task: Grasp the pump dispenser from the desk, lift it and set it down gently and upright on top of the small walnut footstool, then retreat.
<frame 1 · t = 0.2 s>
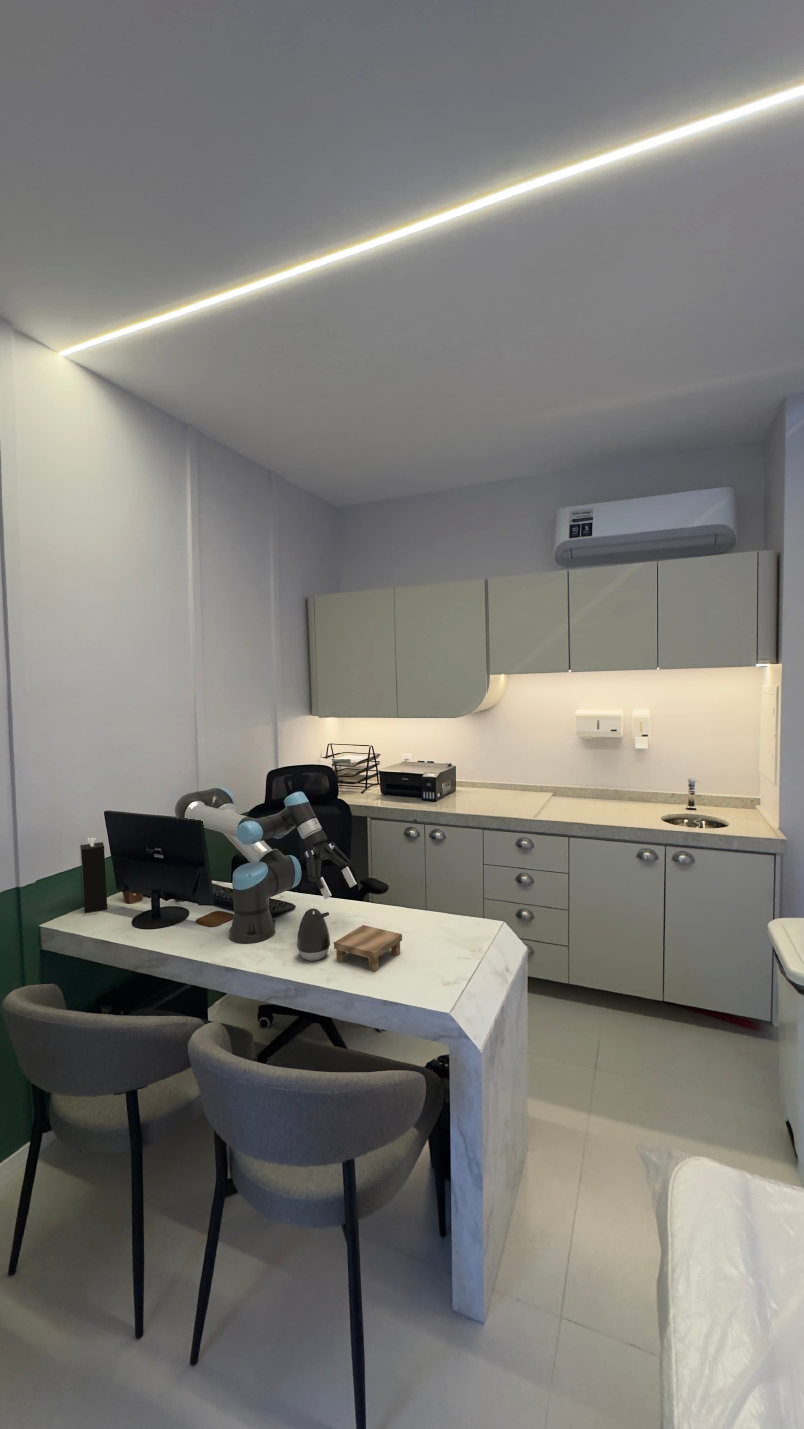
hand: (341, 891, 201), 16 cm above the table, tool tilted 35°, fingers open, 13 cm apart
tissue box: (95, 909, 235), on the table
pump dispenser: (314, 957, 188), on the table
walnut footstool: (368, 957, 187), on the table
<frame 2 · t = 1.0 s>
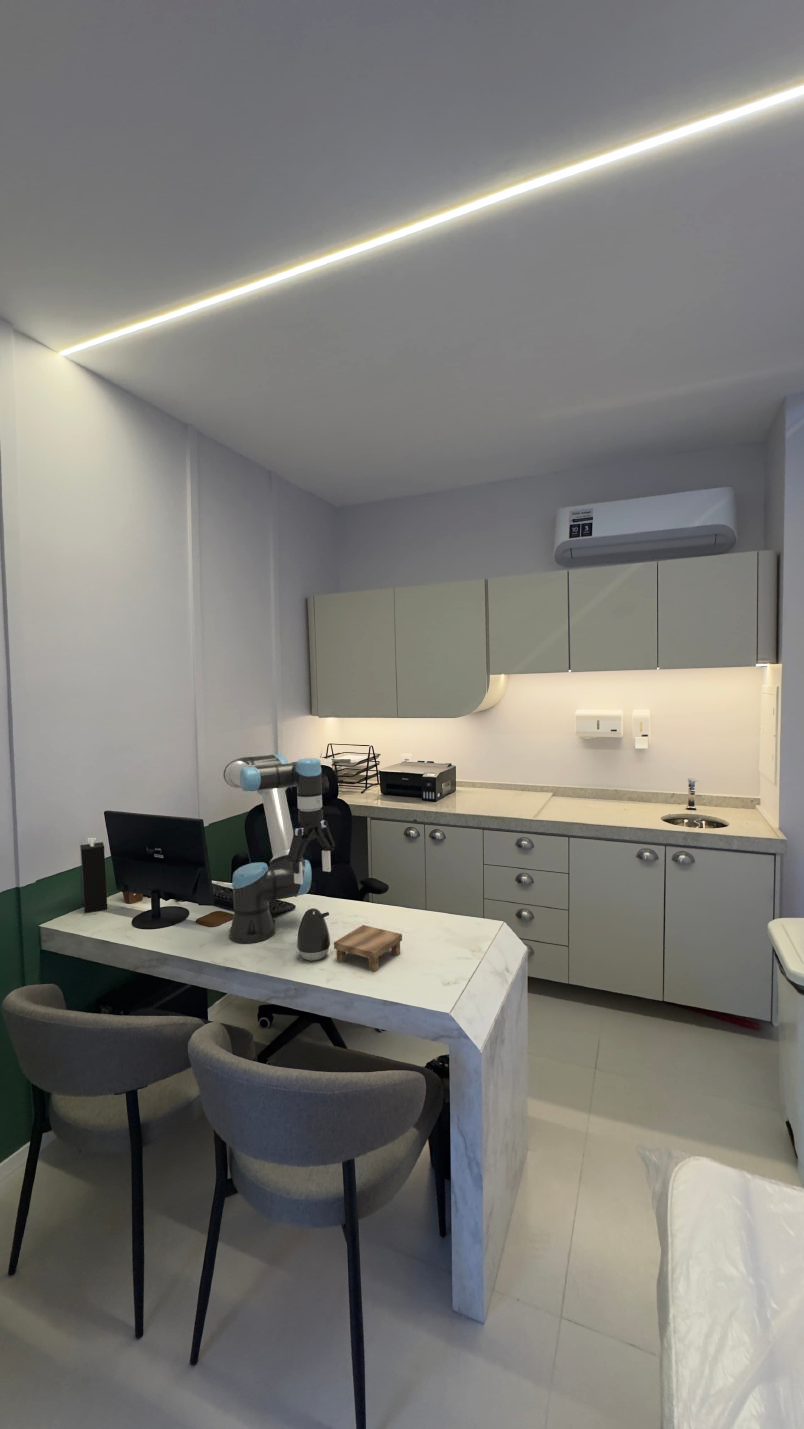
hand: (313, 877, 187), 25 cm above the table, tool pointing down, fingers open, 13 cm apart
nothing on the table moved.
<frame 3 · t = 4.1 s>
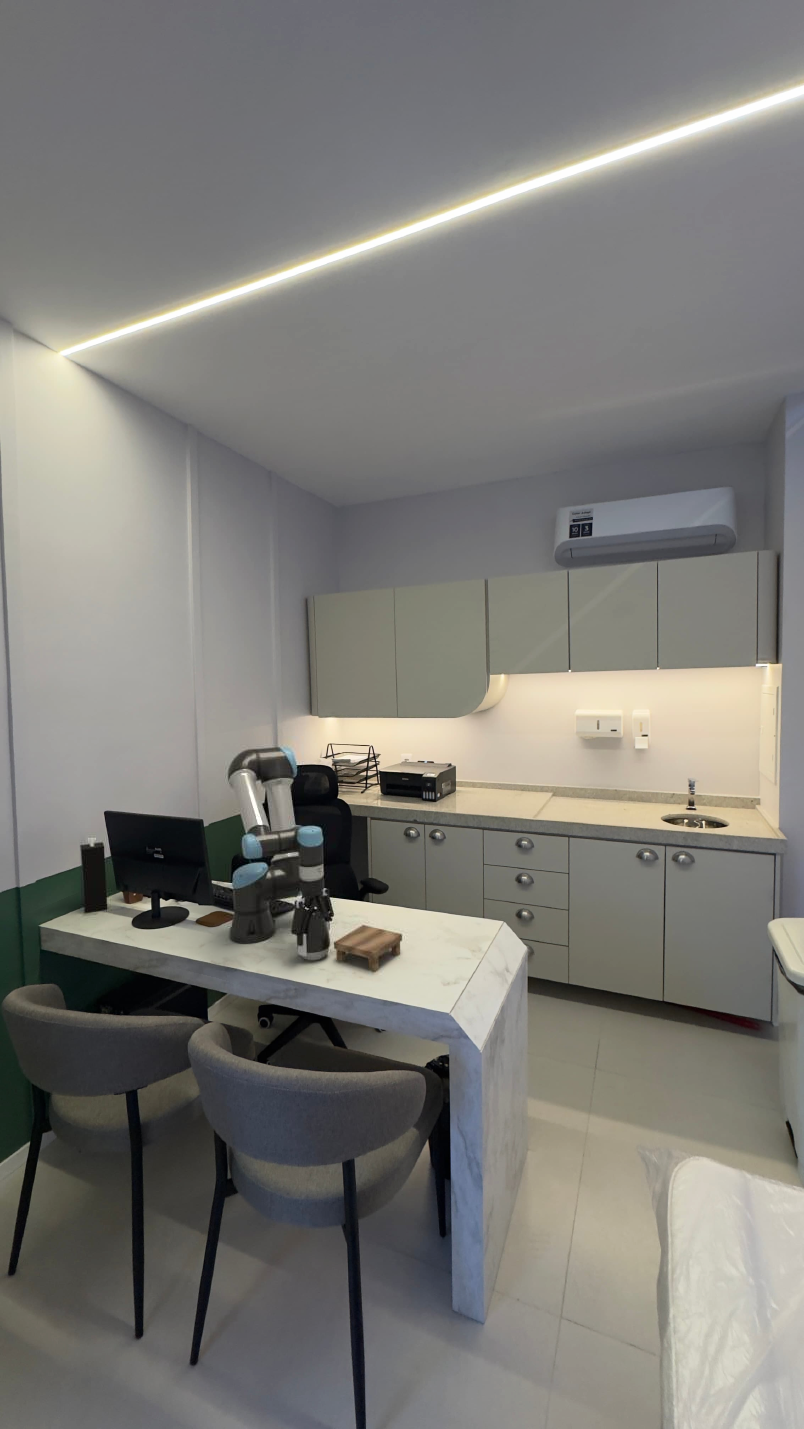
hand: (314, 948, 188), 3 cm above the table, tool pointing down, fingers closed on pump dispenser, 10 cm apart
pump dispenser: (314, 957, 188), on the table, touching gripper
everything else where it was.
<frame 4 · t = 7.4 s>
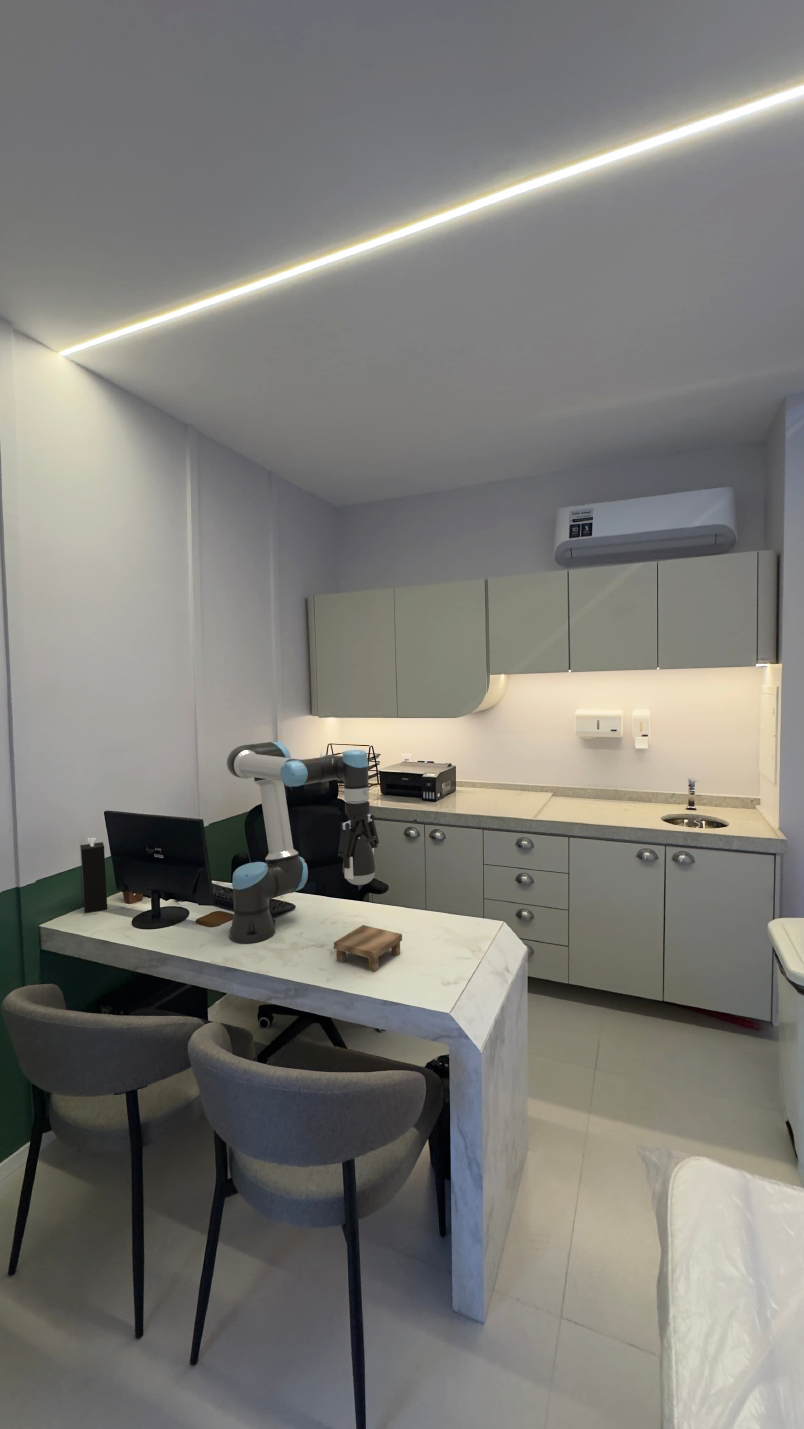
hand: (360, 873, 185), 26 cm above the table, tool pointing down, fingers closed on pump dispenser, 10 cm apart
pump dispenser: (360, 882, 185), point 23 cm above the table, touching gripper
everything else where it was.
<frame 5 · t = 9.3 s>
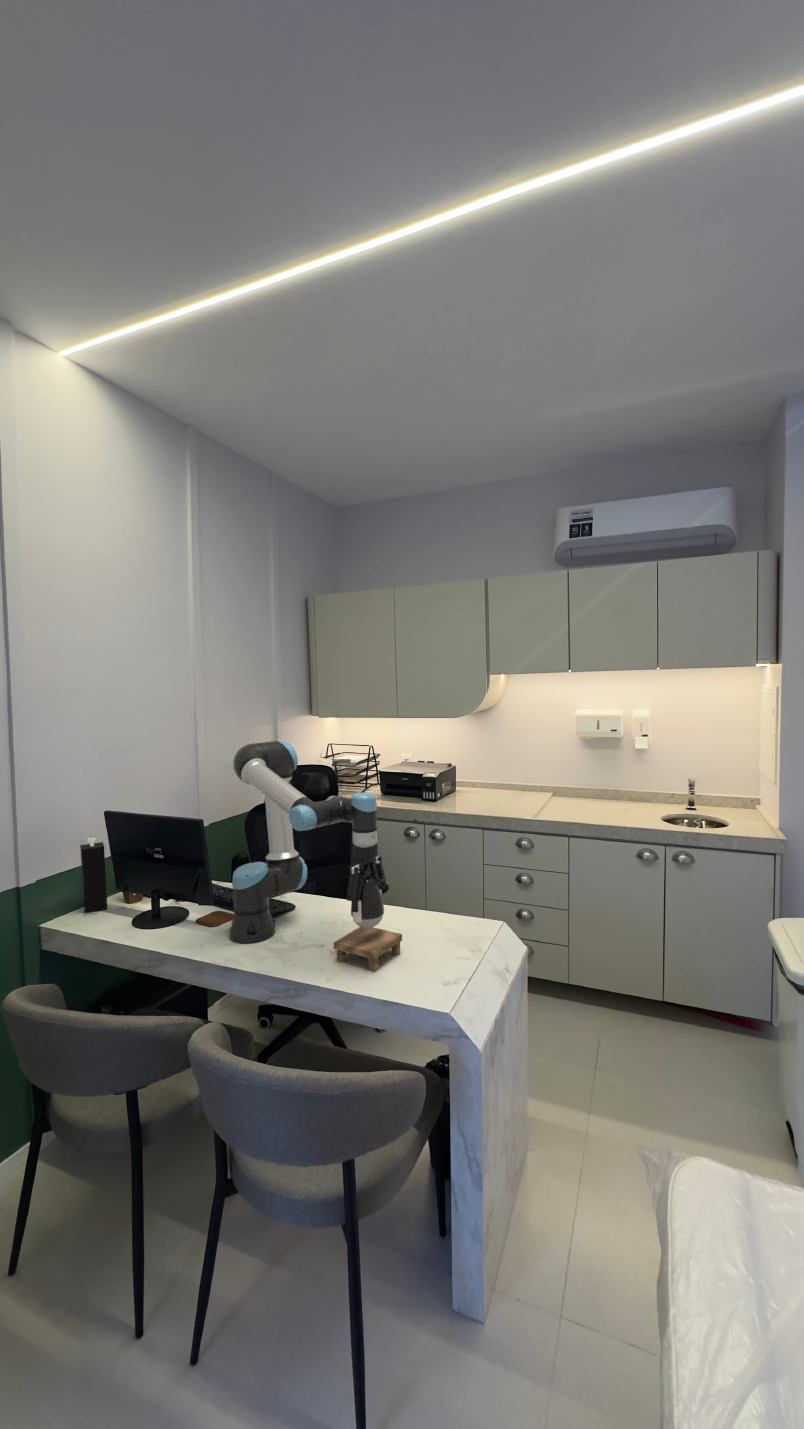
hand: (367, 915, 186), 13 cm above the table, tool pointing down, fingers closed on pump dispenser, 10 cm apart
pump dispenser: (368, 925, 186), point 10 cm above the table, touching gripper
everything else where it was.
when the fingers open (10 cm above the table, at t = 10.8 s): pump dispenser drops 1 cm, resting on walnut footstool.
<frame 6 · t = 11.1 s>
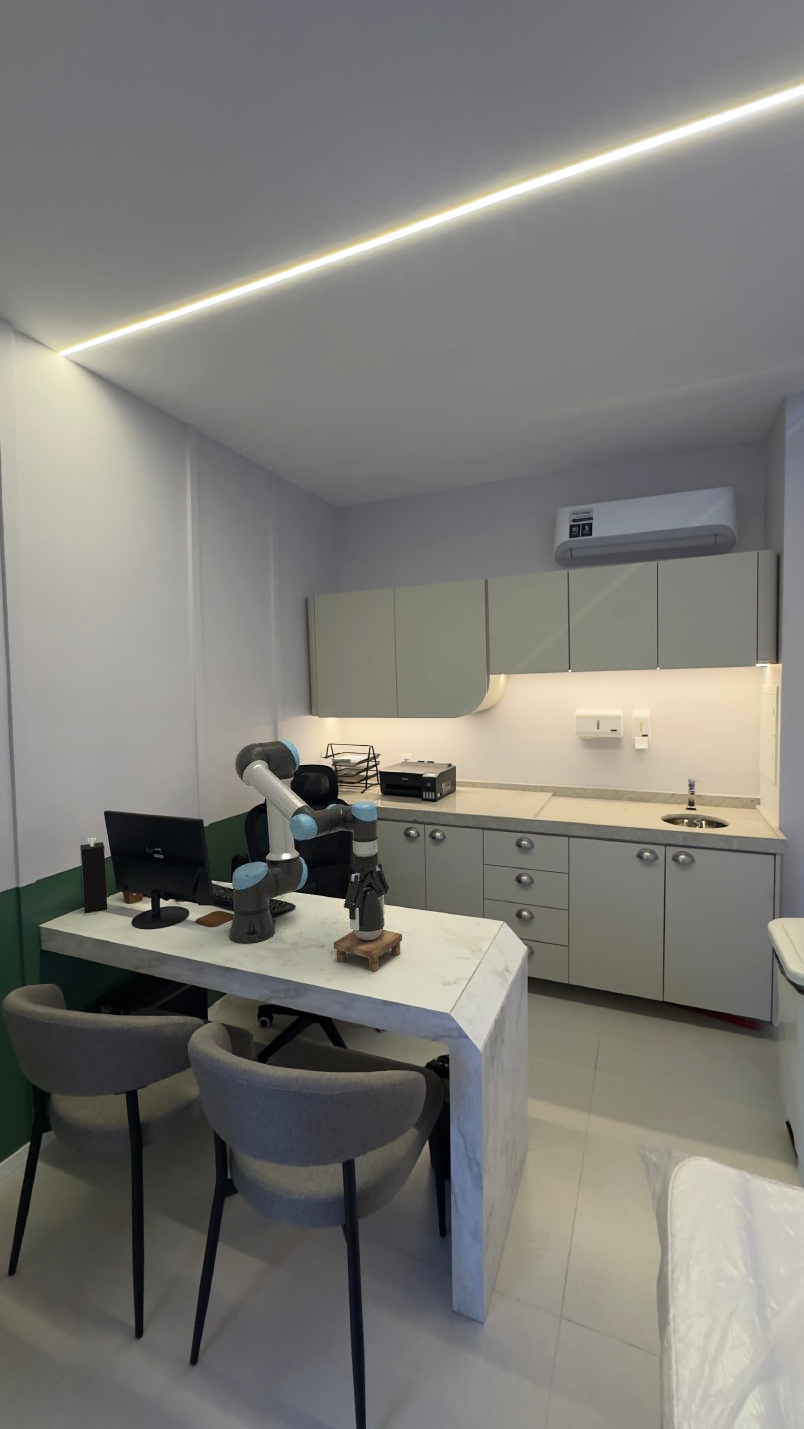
hand: (367, 921, 186), 11 cm above the table, tool pointing down, fingers open, 13 cm apart
pump dispenser: (368, 938, 186), point 6 cm above the table, touching walnut footstool
everything else where it was.
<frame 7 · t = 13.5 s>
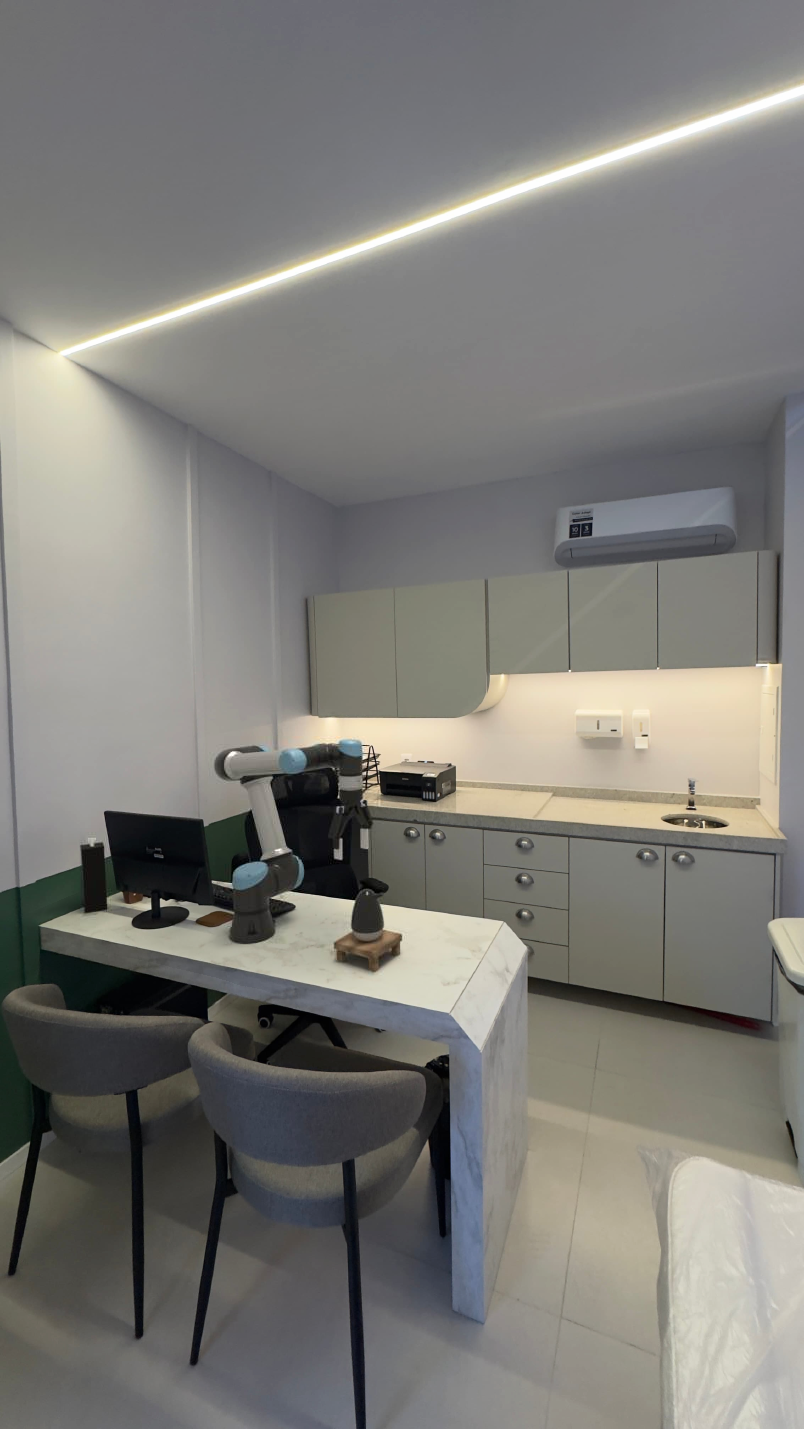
hand: (351, 853, 195), 30 cm above the table, tool pointing down, fingers open, 13 cm apart
nothing on the table moved.
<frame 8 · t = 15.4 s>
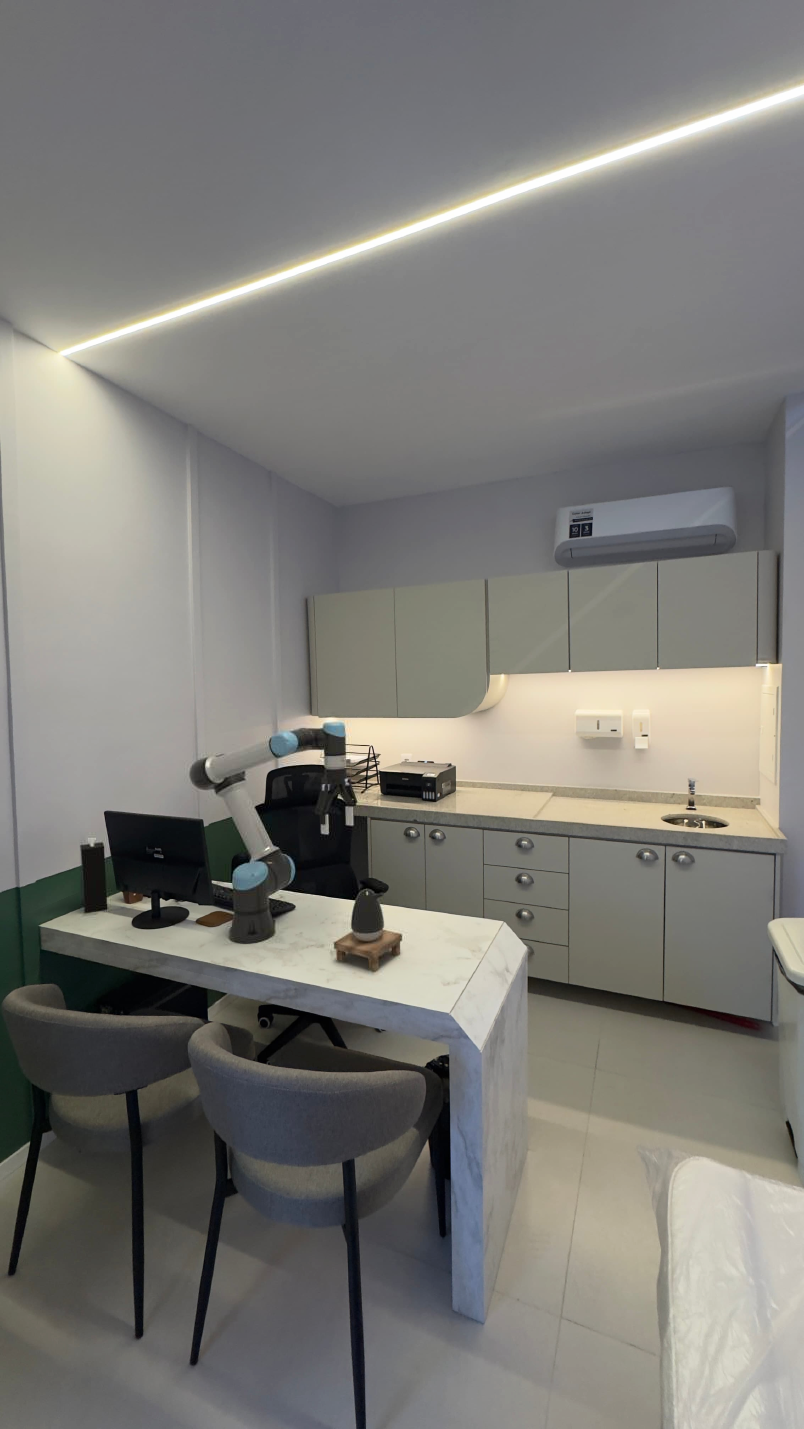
hand: (337, 829, 207), 35 cm above the table, tool pointing down, fingers open, 13 cm apart
nothing on the table moved.
at the end: pump dispenser inside the target area on the walnut footstool (0.0 cm from its centre), point 5.8 cm above the walnut footstool's base; pump dispenser tilted 0°; the gripper is holding nothing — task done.
